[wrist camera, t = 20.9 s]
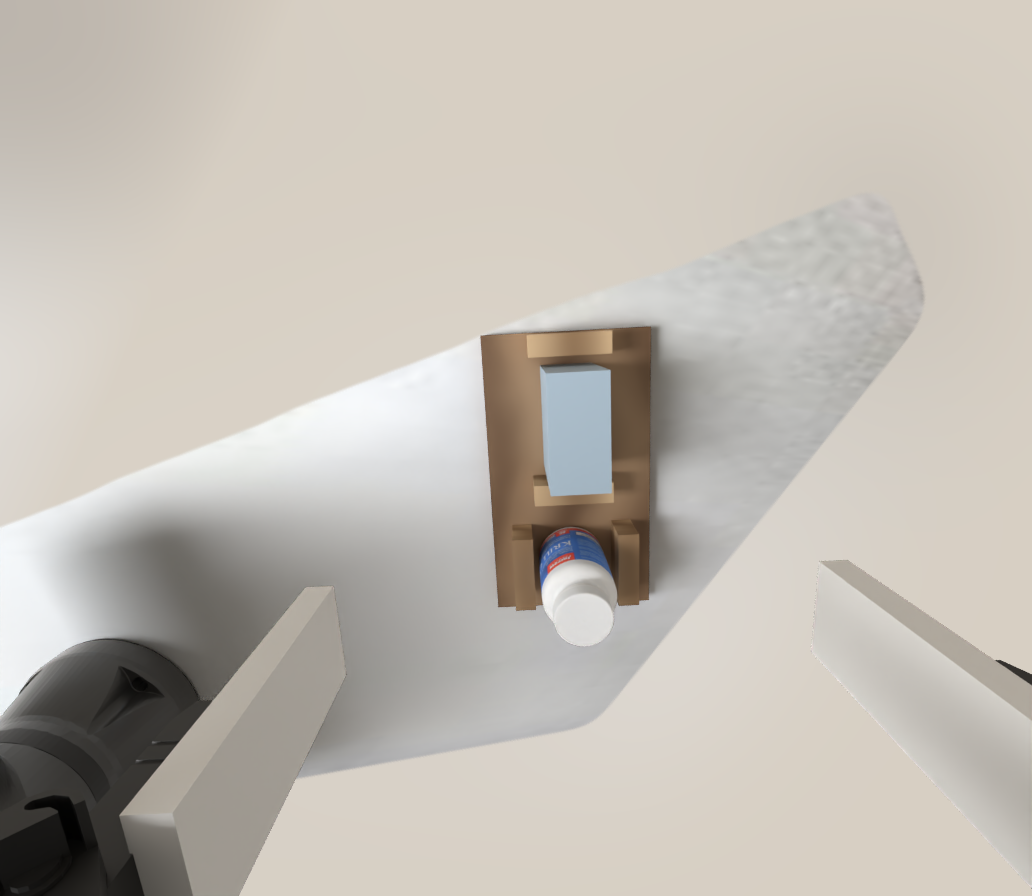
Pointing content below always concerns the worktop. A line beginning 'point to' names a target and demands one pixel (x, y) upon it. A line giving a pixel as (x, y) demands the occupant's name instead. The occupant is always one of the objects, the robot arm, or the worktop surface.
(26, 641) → the worktop surface
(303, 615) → the robot arm
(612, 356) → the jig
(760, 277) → the worktop surface
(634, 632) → the worktop surface
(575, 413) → the block
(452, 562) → the worktop surface
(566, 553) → the pill bottle
